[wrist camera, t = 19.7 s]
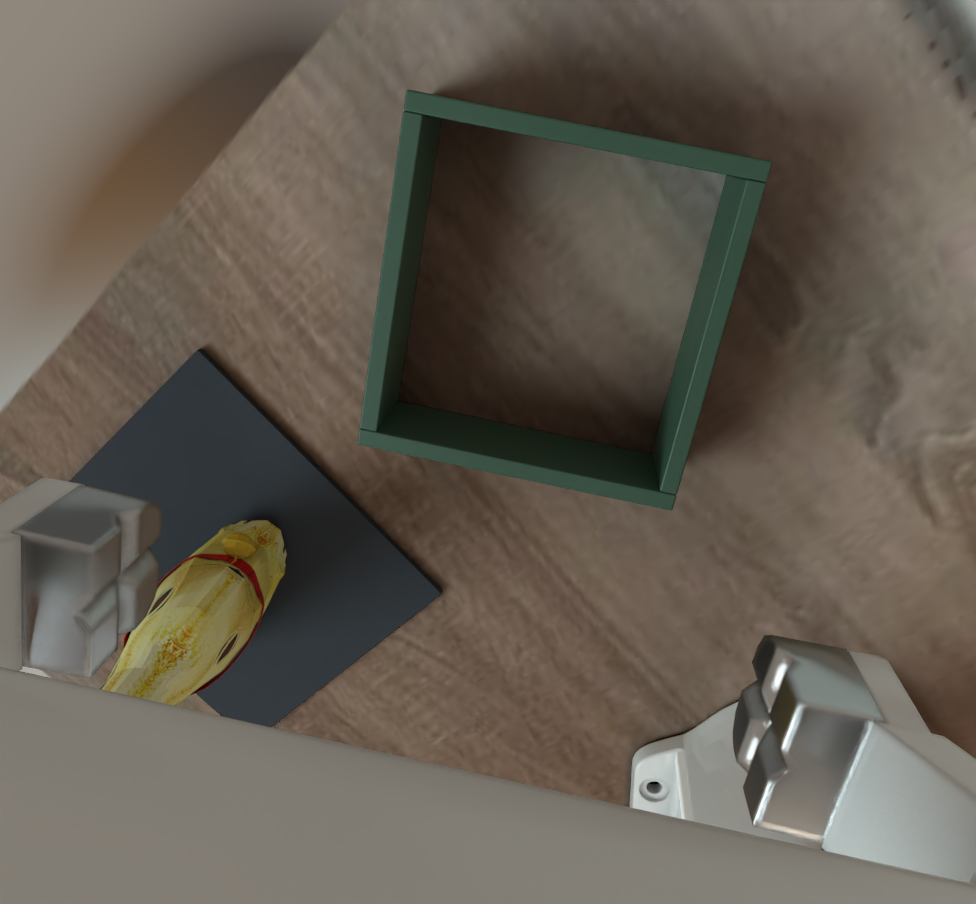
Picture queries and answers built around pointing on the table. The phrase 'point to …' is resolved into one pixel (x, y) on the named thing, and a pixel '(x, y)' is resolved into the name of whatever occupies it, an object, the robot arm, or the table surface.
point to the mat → (283, 502)
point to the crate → (524, 447)
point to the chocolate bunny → (202, 615)
